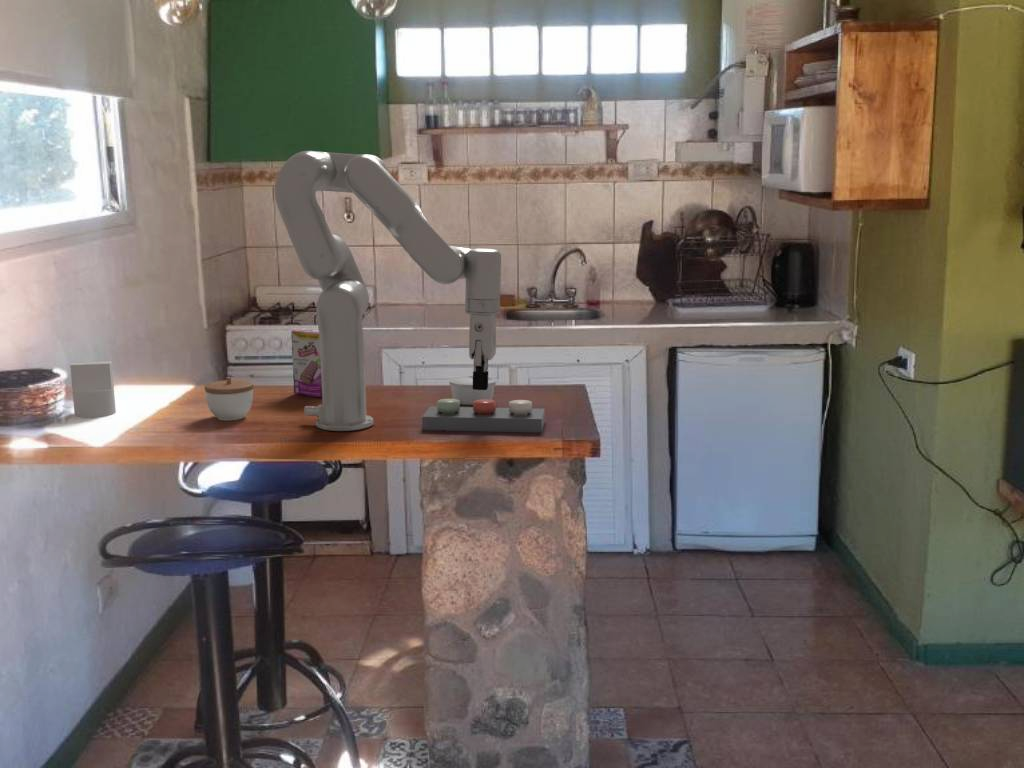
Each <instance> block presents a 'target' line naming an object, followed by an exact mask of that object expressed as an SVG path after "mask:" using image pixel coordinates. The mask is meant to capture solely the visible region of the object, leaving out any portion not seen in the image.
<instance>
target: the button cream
mask: <svg viewBox="0 0 1024 768" xmlns="http://www.w3.org/2000/svg"><path fill="white" fill-rule="evenodd" d="M508 406H509V407H508V408H509V412H510V413H514V415H524V416H527V413H531V412H532V408H533V402H532V400H527V399H516V400H515V399H514V400H510V401H509V402H508Z"/></svg>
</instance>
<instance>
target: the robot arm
mask: <svg viewBox="0 0 1024 768" xmlns="http://www.w3.org/2000/svg"><path fill="white" fill-rule="evenodd" d="M316 192H337V193H349V194H351V193H352V194H353V195H354V196H356V198H357V199H358V200H359V201H360V202H361V203H362V204H363V205H364V206H365V207H366V208H367V209H368V210H369V211H370V213H372V214H373V215H374V216H375V218H376V219H377V220H378V221H380V223H381V224H382V225H383V226H384V227H385V228H386V230H388V232H389V233H390V234H391V236H392V237H393V238H394V239H395V240H396V241H397V242H398V243H399V245H400V246H401V247H402V249H403V250H404V251H405V252H406V253H407V254H408V256H409V257H411V259H412V260H413V261H414V262H415V263H416V265H418V266H419V268H421V269H422V271H424V272H425V274H427V276H428V277H429V278H431V280H433V281H434V282H436V283H438V284H441V285H452V284H454V283H455V282H457V281H458V280H465V292H464V294H465V295H464V297H465V301H464V302H465V303H464V306H465V307H464V313H466V314H468V315H469V332H468V333H469V335H468V355H469V359H471V360H473V371H472V376H473V389H474V390H487V388H488V378H489V361H492V359H494V357H495V355H496V353H497V352H496V351H497V345H496V344H497V334H496V333H497V326H496V325H497V321H496V315H499V314H500V310H501V309H500V308H501V282H502V281H501V279H502V254H501V252H500V251H499V250H498V249H495V248H494V249H493V248H485V247H484V248H482V247H479V248H478V247H477V248H476V247H475V248H467V247H460V246H456V245H455V246H454V245H449V244H448V243H447V242H446V241H445V240H444V239H443V238H442V237H441V236H440V234H438V232H437V231H436V230H435V229H434V228H433V227H432V226H431V224H430V223H429V221H428V219H427V218H426V217H425V215H424V213H423V210H422V209H421V206H420V204H419V203H418V202H417V201H416V199H415V198H414V197H413V196H412V195H410V193H409V192H408V191H407V190H406V189H405V188H404V187H403V186H402V185H401V184H400V183H399V182H398V181H397V180H396V179H395V178H394V177H393V175H392V174H391V173H390V172H389V170H388V167H387V165H386V164H385V162H384V161H383V160H382V159H381V158H379V157H378V156H376V155H374V154H367V153H366V154H364V153H362V154H356V153H355V154H354V153H353V154H352V153H340V152H327V151H318V150H317V151H316V150H315V151H314V150H304V151H299V152H297V153H295V154H293V155H292V156H290V157H289V158H288V159H287V160H286V161H285V162H284V163H283V165H282V166H281V168H280V169H279V170H278V173H277V176H276V179H275V182H274V197H275V198H274V199H275V203H276V206H277V209H278V212H279V214H280V216H281V219H282V221H283V224H284V226H285V228H286V231H287V233H288V236H289V239H290V241H291V244H292V246H293V248H294V251H295V252H296V256H297V257H298V260H299V264H300V266H301V268H302V270H303V271H304V273H305V274H306V275H307V276H309V277H310V278H312V279H313V280H317V282H318V283H319V285H320V288H321V293H320V294H319V296H318V297H317V298H318V299H317V302H316V310H315V311H316V320H317V326H318V329H317V330H319V339H320V357H321V380H322V398H321V399H322V400H321V401H322V404H319V405H318V406H313V405H305V406H304V411H303V412H304V415H306V417H317V418H318V419H316V421H315V424H316V425H315V426H316V428H319V429H320V430H324V431H331V432H350V431H351V432H352V431H359V430H364V429H367V428H369V427H372V425H374V418H373V417H372V416H371V415H367V397H366V396H367V395H366V371H365V370H366V367H365V366H366V364H365V362H366V361H365V360H366V359H365V343H364V331H363V330H364V329H363V319H362V318H363V316H364V314H366V311H367V310H368V307H369V304H370V295H369V291H368V288H367V287H366V284H365V281H364V279H363V276H362V274H361V272H360V269H359V267H358V264H357V263H356V262H357V261H356V260H355V258H354V256H353V253H352V251H351V249H350V247H349V246H348V244H347V243H346V242H345V240H344V239H343V238H341V237H340V236H338V235H336V234H333V233H332V232H331V229H330V227H329V225H328V223H327V219H326V217H325V215H324V213H323V210H322V209H321V207H320V205H319V203H318V200H317V197H316V194H317V193H316Z"/></svg>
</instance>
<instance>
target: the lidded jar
mask: <svg viewBox="0 0 1024 768" xmlns="http://www.w3.org/2000/svg"><path fill="white" fill-rule="evenodd" d="M204 391H205V400H206V405H207V408H208V409H209V411H210V412H211V413H212V414H213V415H214V416H215V417H216V419H217V420H219V421H225V422H226V421H237V420H242V419H244V418H245V416H246V415H247V414H248V413H249V411H250V410H251V409H252V404H253V401H254V383H253V382H252V381H248V380H243V379H232V378H231V377H230V376H228V377H226V380H225V379H224V380H217V381H212V382H208V383H206V384H205V385H204Z"/></svg>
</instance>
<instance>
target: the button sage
mask: <svg viewBox="0 0 1024 768" xmlns="http://www.w3.org/2000/svg"><path fill="white" fill-rule="evenodd" d="M436 407H437V411H439V412H442V414H455V412H457V411H459V410H460V407H461V404H460V401H459V400H457V399H453V398H441V399H438V400H437V401H436Z"/></svg>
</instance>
